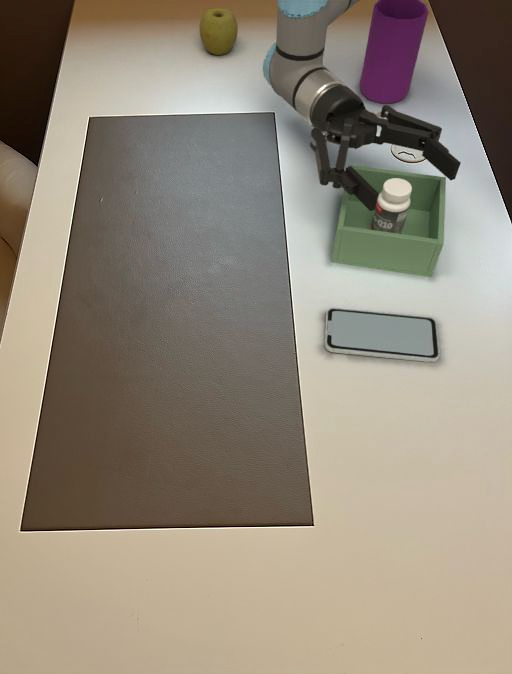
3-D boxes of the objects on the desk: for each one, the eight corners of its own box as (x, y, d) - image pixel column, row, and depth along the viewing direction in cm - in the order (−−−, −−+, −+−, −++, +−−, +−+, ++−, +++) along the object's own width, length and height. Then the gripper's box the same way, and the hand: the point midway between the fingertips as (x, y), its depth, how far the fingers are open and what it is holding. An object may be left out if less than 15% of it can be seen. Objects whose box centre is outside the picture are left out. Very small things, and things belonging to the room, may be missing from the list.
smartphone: (440, 360, 81) (325, 348, 82) (438, 364, 82) (324, 353, 83) (436, 317, 86) (326, 306, 86) (434, 321, 86) (325, 311, 87)
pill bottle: (363, 231, 96) (373, 185, 89) (383, 217, 97) (394, 171, 91) (387, 247, 94) (399, 201, 87) (407, 232, 95) (421, 187, 88)
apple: (239, 41, 129) (240, 4, 123) (234, 62, 124) (234, 24, 118) (203, 39, 129) (202, 2, 124) (197, 59, 125) (195, 22, 119)
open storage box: (434, 211, 99) (446, 177, 93) (430, 277, 91) (443, 243, 85) (342, 199, 101) (348, 164, 95) (330, 262, 93) (337, 228, 87)
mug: (355, 101, 116) (370, 16, 104) (367, 58, 125) (383, -25, 112) (404, 108, 115) (426, 23, 102) (414, 65, 123) (434, -19, 111)
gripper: (391, 108, 102) (478, 181, 91) (258, 153, 95) (334, 237, 85) (402, 62, 95) (496, 135, 85) (260, 107, 89) (342, 192, 78)
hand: (416, 186), depth 85 cm, fingers open, 13 cm apart
